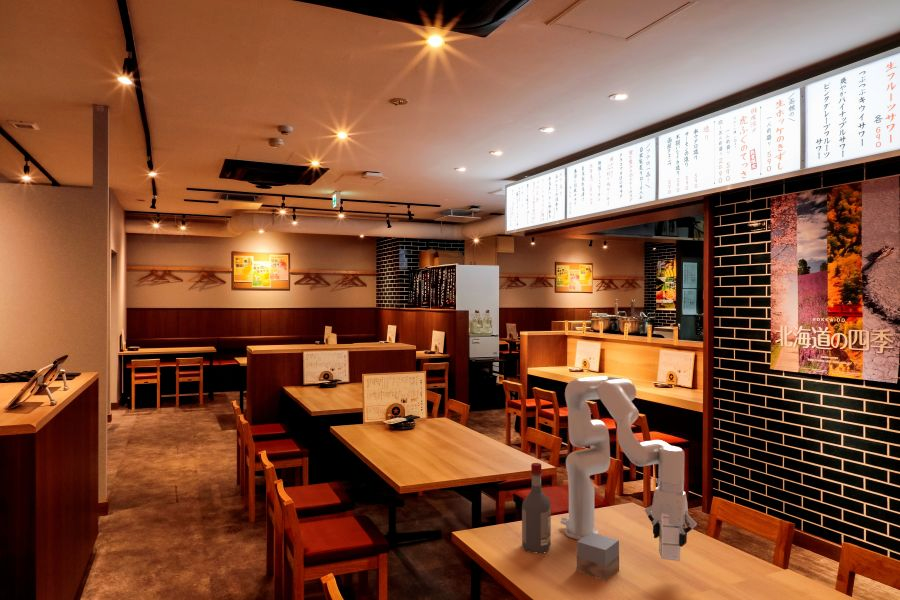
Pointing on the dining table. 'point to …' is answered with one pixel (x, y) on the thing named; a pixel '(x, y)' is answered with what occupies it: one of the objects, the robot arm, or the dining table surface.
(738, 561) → the dining table surface
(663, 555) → the syrup box
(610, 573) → the walnut block
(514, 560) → the dining table surface
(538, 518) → the liquor
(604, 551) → the grey square block
